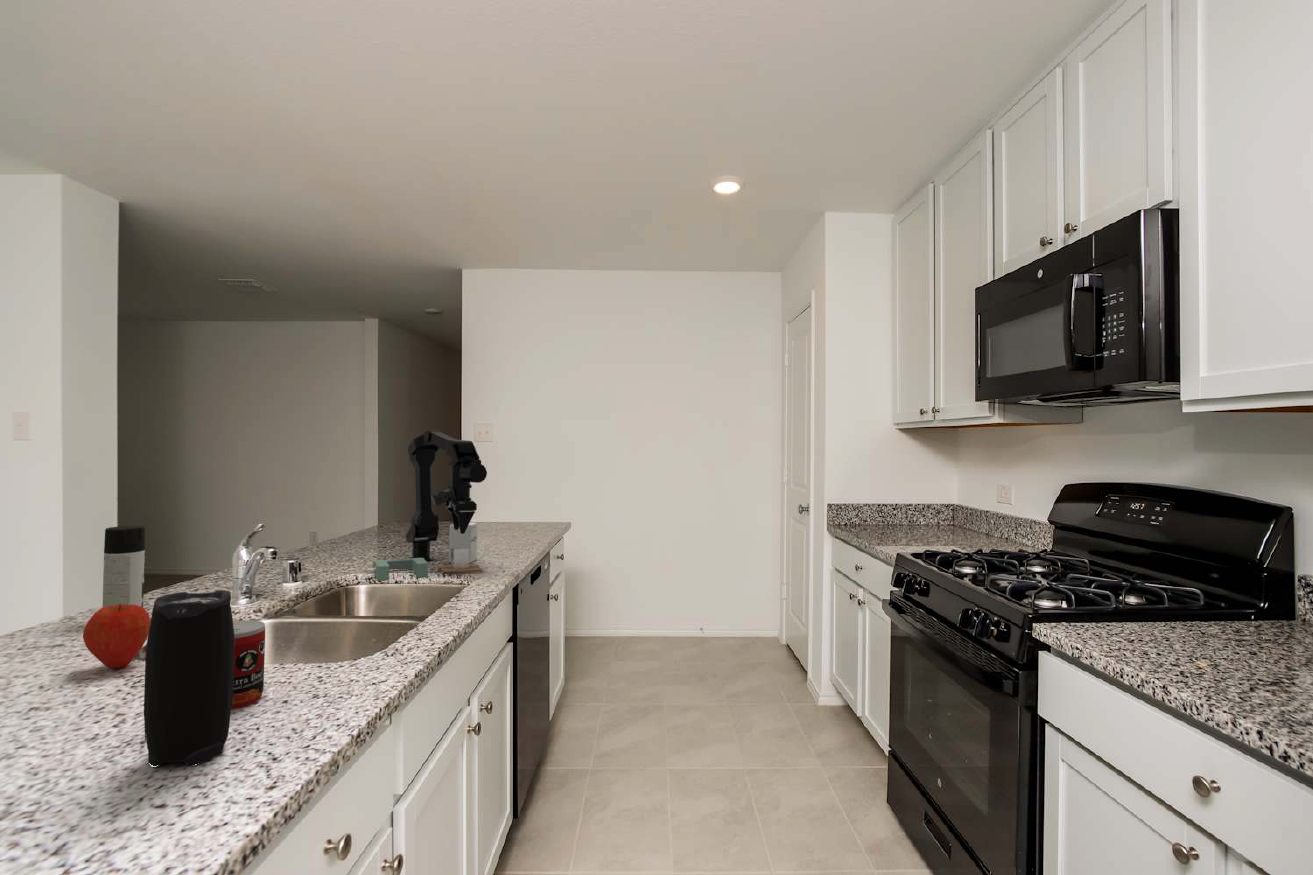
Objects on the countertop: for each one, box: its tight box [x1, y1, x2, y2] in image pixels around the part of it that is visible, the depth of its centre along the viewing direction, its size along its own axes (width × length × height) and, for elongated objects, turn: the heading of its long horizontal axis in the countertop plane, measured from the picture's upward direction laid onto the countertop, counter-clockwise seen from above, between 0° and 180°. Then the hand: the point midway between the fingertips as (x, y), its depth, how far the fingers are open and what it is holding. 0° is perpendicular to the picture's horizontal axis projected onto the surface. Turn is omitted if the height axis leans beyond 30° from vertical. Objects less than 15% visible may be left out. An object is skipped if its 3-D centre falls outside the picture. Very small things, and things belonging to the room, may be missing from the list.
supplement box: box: [448, 522, 478, 563], centre depth 208 cm, size 7×7×13 cm
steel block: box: [450, 546, 469, 569], centre depth 193 cm, size 4×4×6 cm
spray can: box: [102, 525, 146, 608], centre depth 133 cm, size 7×7×20 cm
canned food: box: [231, 619, 266, 711], centre depth 94 cm, size 8×8×11 cm
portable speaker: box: [143, 589, 235, 766], centre depth 78 cm, size 9×9×20 cm
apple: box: [82, 604, 151, 669], centre depth 106 cm, size 9×8×11 cm
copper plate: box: [437, 562, 483, 576], centre depth 193 cm, size 11×11×1 cm
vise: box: [365, 558, 429, 582], centre depth 186 cm, size 15×16×4 cm
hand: (459, 531), depth 193 cm, fingers open, 9 cm apart
